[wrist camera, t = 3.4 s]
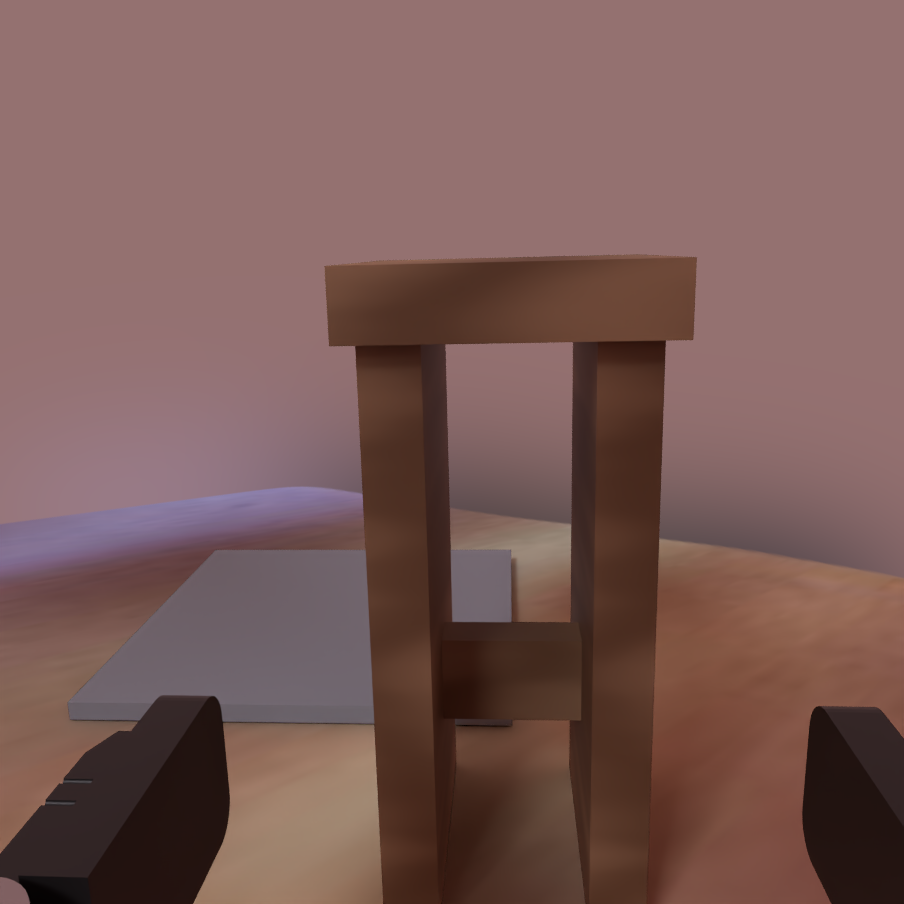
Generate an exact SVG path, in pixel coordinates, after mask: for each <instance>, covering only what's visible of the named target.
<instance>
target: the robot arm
mask: <svg viewBox="0 0 904 904" xmlns="http://www.w3.org/2000/svg"><path fill="white" fill-rule="evenodd" d="M229 807H230V795H229V783H228V772H227V762H226V752H225V741H224V731H223V720H222V711H221V706H220V703H219V701H218V699H217V698H216V697H215V696H190V695H162V696H159V697H158V698H157V699H156V700H155V701H154V703H153V704H152V705H151V706H150V708H149V709H148V710H147V712H146V713H145V714H144V715H143V717H142V718H141V719H140V720H139V722H138V723H137V724H136V726H135V727H134V728H133V729H132V731H118V732H116V733H115V734H113V735H112V736H110V737H109V738H107V739H106V740H104V741H103V742H101V743H100V744H98V745H96V746H95V747H93V748H92V749H90V750H89V751H87V752H86V753H85V754H84V755H83V756H82V757H81V758H80V760H79V761H78V762H77V763H76V764H75V766H74V767H73V768H72V769H71V770H70V772H69V773H68V774H67V775H66V776H65V777H64V781H63V784H59V785H58V786H57V787H56V788H55V789H54V791H53V792H52V793H51V794H50V795H49V796H48V798H47V799H46V803H45V806H44V805H41V806H40V807H39V808H38V810H37V811H36V812H35V813H34V814H33V816H32V817H31V818H30V819H29V820H28V821H27V823H26V824H25V825H24V826H23V827H22V829H21V830H20V831H19V832H18V833H17V835H16V836H15V837H14V838H13V839H12V840H11V842H10V843H9V844H8V845H7V846H6V848H5V849H4V850H3V851H2V852H1V854H0V904H193V903H194V901H195V899H196V897H197V894H198V892H199V890H200V888H201V886H202V884H203V882H204V880H205V878H206V876H207V874H208V872H209V870H210V868H211V866H212V863H213V861H214V859H215V857H216V855H217V853H218V851H219V849H220V847H221V845H222V842H223V839H224V836H225V833H226V829H227V824H228V817H229ZM802 816H803V830H804V837H805V842H806V847H807V851H808V854H809V857H810V860H811V862H812V865H813V867H814V869H815V871H816V873H817V875H818V877H819V879H820V881H821V883H822V885H823V887H824V889H825V891H826V893H827V896H828V898H829V900H830V902H831V904H904V738H903V737H902V736H901V735H900V733H899V732H898V731H897V729H896V728H895V727H894V726H893V724H892V723H891V722H890V721H889V719H888V718H887V717H886V716H885V714H884V713H883V712H882V711H881V710H880V709H878V708H876V707H834V706H818V707H816V708H815V709H814V710H813V712H812V715H811V719H810V726H809V738H808V750H807V762H806V774H805V786H804V798H803V812H802Z"/></svg>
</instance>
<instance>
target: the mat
mask: <svg viewBox="0 0 904 904" xmlns="http://www.w3.org/2000/svg"><path fill="white" fill-rule="evenodd" d="M451 583H452V622H512V621H511V550H451ZM162 695H190V696H215V697H216V698H217V699H218V701H219V703H220V706H221V711H222V720H223V722H289V723H363V724H374V707H373V687H372V667H371V647H370V628H369V608H368V588H367V568H366V550H215V551H214V552H213V553H212V554H211V555H210V556H209V557H208V558H207V559H206V560H205V561H204V563H203V564H202V565H201V566H200V567H199V568H198V569H197V570H196V571H195V572H194V573H193V574H192V575H191V576H190V577H189V578H188V579H187V580H186V581H185V582H184V583H183V584H182V585H181V586H180V587H179V588H178V589H177V590H176V591H175V592H174V593H173V594H172V595H171V596H170V597H169V599H168V600H167V601H166V602H165V603H164V604H163V605H162V606H161V607H160V608H159V609H158V610H157V611H156V612H155V613H154V614H153V615H152V616H151V617H150V618H149V619H148V620H147V621H146V622H145V623H144V624H143V625H142V626H141V627H140V628H139V629H138V630H137V631H136V632H135V634H134V635H133V636H132V637H131V638H130V639H129V640H128V641H127V642H126V643H125V644H124V645H123V646H122V647H121V648H120V649H119V650H118V651H117V652H116V653H115V654H114V655H113V656H112V657H111V658H110V659H109V660H108V661H107V662H106V663H105V664H104V665H103V666H102V667H101V669H100V670H99V671H98V672H97V673H96V674H95V675H94V676H93V677H92V678H91V679H90V680H89V681H88V682H87V683H86V684H85V685H84V686H83V687H82V688H81V689H80V690H79V691H78V692H77V693H76V694H75V695H74V696H73V697H72V698H71V699H70V700H69V701H68V709H69V716H70V720H140V719H141V718H142V717H143V715H144V714H145V713H146V712H147V710H148V709H149V708H150V706H151V705H152V704H153V703H154V701H155V700H156V699H157V698H158V697H159V696H162ZM455 725H510V726H512V720H502V719H455Z"/></svg>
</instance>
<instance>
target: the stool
mask: <svg viewBox="0 0 904 904" xmlns="http://www.w3.org/2000/svg"><path fill="white" fill-rule="evenodd" d="M696 262H697V258H696V257H679V256H659V255H600V256H599V255H597V256H554V257H514V258H474V259H473V258H472V259H432V260H430V259H429V260H389V261H388V260H387V261H373V262H362V263H352V264H342V265H331V266H325V282H326V300H327V315H328V333H329V346H355V349H356V369H357V388H358V408H359V427H360V447H361V466H362V467H361V468H362V488H363V508H364V528H365V548H366V568H367V588H368V608H369V628H370V647H371V667H372V687H373V707H374V727H375V747H376V767H377V787H378V807H379V827H380V847H381V866H382V886H383V904H442V897H443V887H444V878H445V868H446V858H447V848H448V838H449V829H450V819H451V809H452V799H453V790H454V780H455V770H456V738H455V719H502V720H570V754H569V766H570V775H571V783H572V792H573V800H574V809H575V818H576V826H577V835H578V843H579V852H580V860H581V869H582V877H583V886H584V894H585V903H586V904H647V879H648V850H649V820H650V790H651V761H652V731H653V702H654V672H655V643H656V613H657V583H658V554H659V524H660V493H661V465H662V436H663V435H662V434H663V406H664V376H665V375H664V374H665V347H666V340H693V335H694V311H695V309H694V308H695V287H696ZM541 342H542V343H547V342H573V415H572V526H571V623H568V622H452V583H451V544H450V506H449V467H448V428H447V392H446V351H445V344H488V343H541Z"/></svg>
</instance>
